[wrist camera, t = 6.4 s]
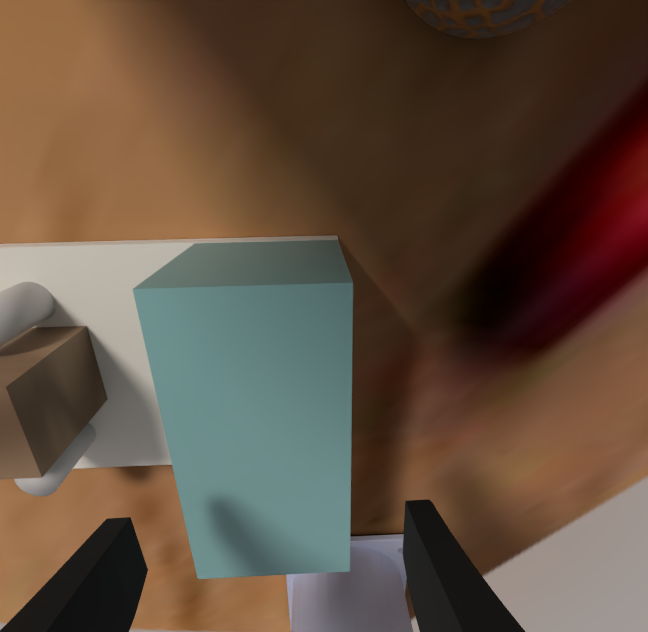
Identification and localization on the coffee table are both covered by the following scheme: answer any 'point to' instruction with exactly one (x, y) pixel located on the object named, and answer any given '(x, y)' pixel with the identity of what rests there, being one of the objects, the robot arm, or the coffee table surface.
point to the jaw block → (45, 397)
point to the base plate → (98, 337)
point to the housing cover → (256, 401)
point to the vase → (483, 15)
